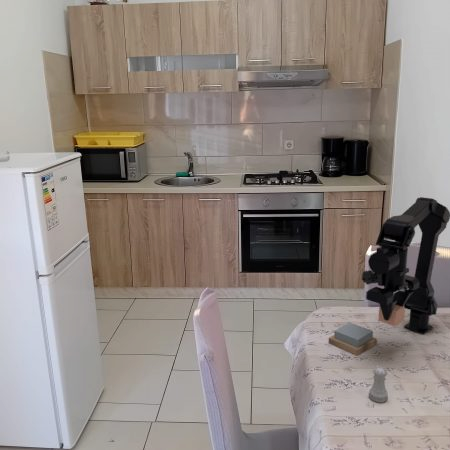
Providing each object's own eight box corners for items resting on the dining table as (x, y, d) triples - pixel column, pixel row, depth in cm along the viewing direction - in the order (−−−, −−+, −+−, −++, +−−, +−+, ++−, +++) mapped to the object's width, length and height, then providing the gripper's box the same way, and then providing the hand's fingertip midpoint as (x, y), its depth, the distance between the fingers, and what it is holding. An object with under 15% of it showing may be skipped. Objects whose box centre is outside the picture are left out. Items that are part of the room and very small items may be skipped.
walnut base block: (348, 334, 148) (348, 327, 147) (376, 346, 140) (377, 339, 139) (328, 345, 141) (328, 337, 141) (356, 358, 134) (357, 350, 133)
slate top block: (349, 329, 146) (349, 322, 145) (372, 338, 140) (372, 330, 139) (334, 338, 140) (334, 330, 140) (357, 347, 135) (358, 339, 134)
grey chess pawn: (388, 404, 112) (391, 374, 110) (369, 402, 113) (371, 372, 111) (386, 393, 116) (388, 364, 114) (367, 391, 117) (369, 362, 115)
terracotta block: (387, 315, 136) (388, 302, 135) (403, 320, 132) (405, 307, 131) (378, 320, 132) (379, 307, 131) (394, 326, 129) (395, 312, 128)
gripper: (386, 251, 140) (382, 299, 144) (350, 265, 128) (347, 318, 132) (422, 259, 132) (417, 310, 136) (387, 275, 120) (383, 331, 124)
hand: (391, 317), depth 132 cm, fingers closed on terracotta block, 5 cm apart
